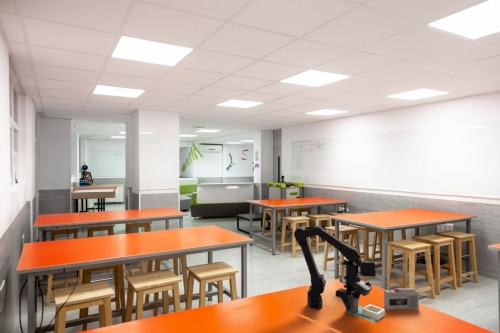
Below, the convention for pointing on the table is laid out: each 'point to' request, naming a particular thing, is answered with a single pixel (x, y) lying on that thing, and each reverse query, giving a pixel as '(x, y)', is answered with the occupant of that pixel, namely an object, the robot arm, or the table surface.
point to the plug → (353, 305)
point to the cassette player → (401, 299)
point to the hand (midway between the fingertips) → (351, 308)
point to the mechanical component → (342, 279)
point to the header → (373, 311)
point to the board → (364, 315)
